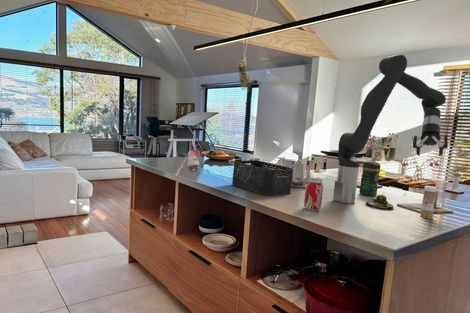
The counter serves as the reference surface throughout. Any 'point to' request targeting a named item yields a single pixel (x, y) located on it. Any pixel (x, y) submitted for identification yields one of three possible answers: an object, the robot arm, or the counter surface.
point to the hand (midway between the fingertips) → (429, 155)
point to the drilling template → (418, 206)
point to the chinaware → (301, 174)
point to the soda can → (313, 195)
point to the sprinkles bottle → (428, 202)
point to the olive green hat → (380, 202)
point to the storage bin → (262, 177)
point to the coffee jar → (370, 178)
